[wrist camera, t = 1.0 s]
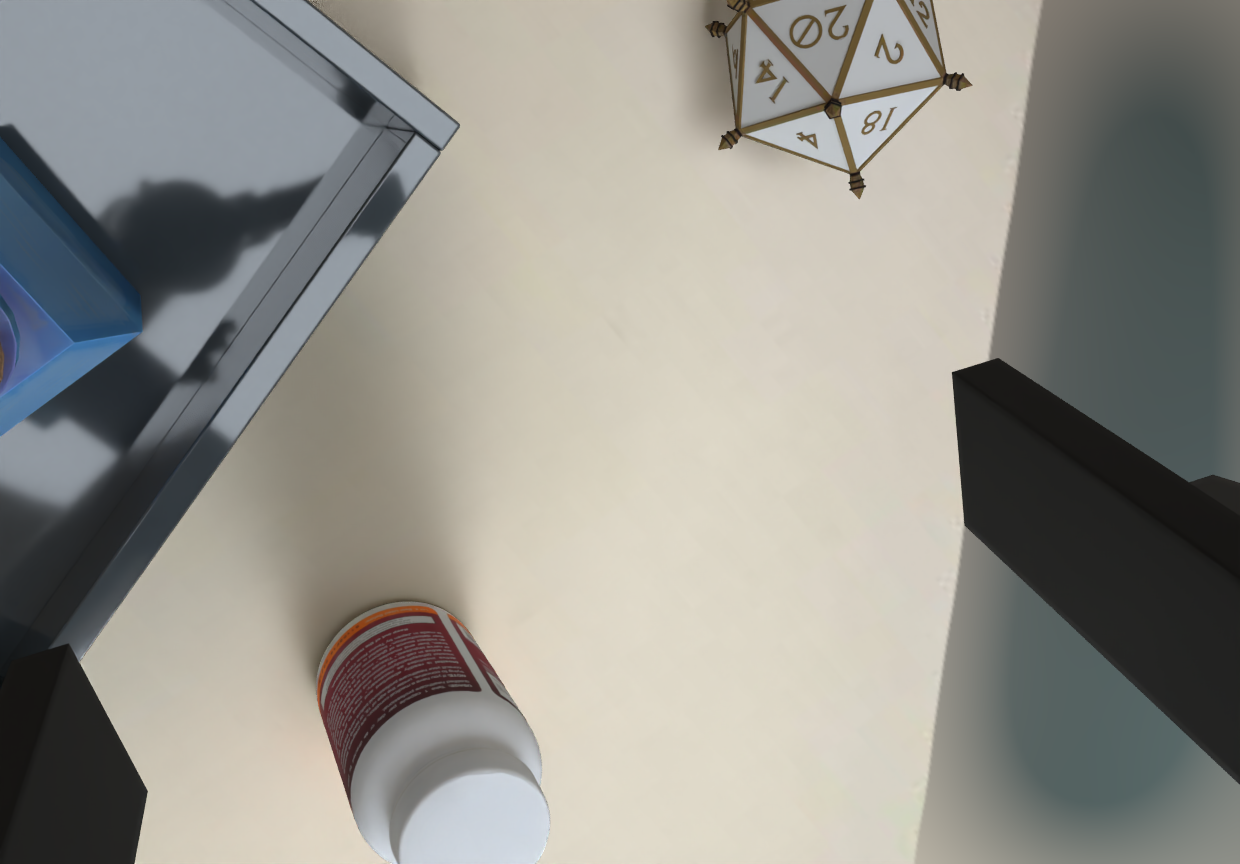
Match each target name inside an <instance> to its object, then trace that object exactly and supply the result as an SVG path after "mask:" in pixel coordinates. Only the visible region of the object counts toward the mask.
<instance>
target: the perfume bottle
mask: <svg viewBox="0 0 1240 864" xmlns="http://www.w3.org/2000/svg"><path fill="white" fill-rule="evenodd" d="M141 332H143V328H142V313H141V297H140V294H139V293H138V292H137V291H136V290H135V289H134V287H133V286H132V285H131V284H130V283H129V282H128V281H127V280H126V278H125V277H124V276H123V275H122V274H121V273H120V272H119V271H118V269H117V268H116V267H115V266H114V265H113V264H112V263H111V262H110V260H109V259H108V258H107V257H106V256H105V255H104V254H103V253H102V251H101V250H100V249H99V248H98V247H97V246H96V245H95V243H94V242H93V241H92V240H91V239H90V238H89V237H88V236H87V234H86V233H85V232H84V231H83V230H82V229H81V228H80V227H79V225H78V224H77V223H76V222H75V221H74V220H73V219H72V218H71V216H70V215H69V214H68V213H67V212H66V211H65V210H64V209H63V207H62V206H61V205H60V204H59V203H58V202H57V201H56V199H55V198H54V197H53V196H52V195H51V194H50V193H49V192H48V190H47V189H46V188H45V187H44V186H43V185H42V184H41V183H40V181H39V180H38V179H37V178H36V177H35V176H34V175H33V174H32V172H31V171H30V170H29V169H28V168H27V167H26V166H25V164H24V163H23V162H22V161H21V160H20V159H19V158H18V157H17V155H16V154H15V153H14V152H13V151H12V150H11V149H10V148H9V146H8V145H7V144H6V143H5V142H4V141H3V140H2V139H1V137H0V437H1V436H2V435H3V434H5V433H6V432H7V431H9V430H10V429H11V428H13V427H14V426H15V425H17V424H18V423H20V422H21V421H22V420H24V419H25V418H26V417H28V416H29V415H30V414H32V413H33V412H34V411H36V410H37V409H39V408H40V407H41V406H43V405H44V404H45V403H47V402H48V401H49V400H51V399H52V398H53V397H55V396H56V395H57V394H59V393H60V392H62V391H63V390H64V389H66V388H67V387H68V386H70V385H71V384H72V383H74V382H75V381H76V380H78V379H79V378H80V377H82V376H83V375H85V374H86V373H87V372H89V371H90V370H91V369H93V368H94V367H95V366H97V365H98V364H99V363H101V362H102V361H103V360H105V359H106V358H108V357H109V356H110V355H112V354H113V353H114V352H116V351H117V350H118V349H120V348H121V347H122V346H124V345H125V344H127V343H128V342H129V341H131V340H132V339H133V338H135V337H136V336H137V335H139V334H140V333H141Z"/></svg>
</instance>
